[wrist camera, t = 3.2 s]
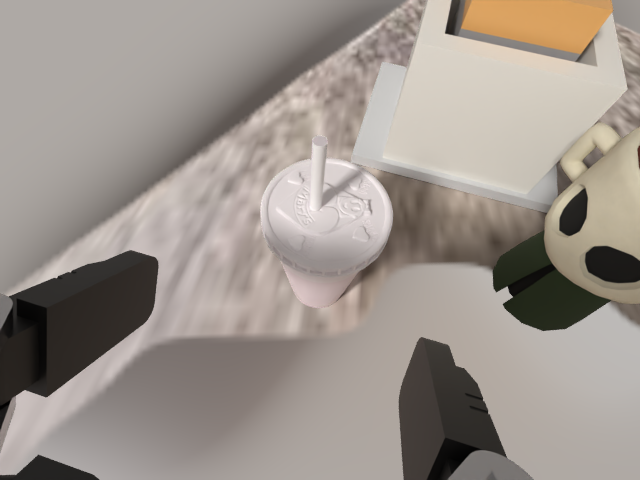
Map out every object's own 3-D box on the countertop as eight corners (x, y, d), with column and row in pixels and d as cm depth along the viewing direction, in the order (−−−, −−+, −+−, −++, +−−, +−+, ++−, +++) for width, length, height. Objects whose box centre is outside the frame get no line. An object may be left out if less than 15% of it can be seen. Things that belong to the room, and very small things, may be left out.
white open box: (547, 109, 35) (641, -14, 25) (550, 214, 29) (676, 105, 19) (380, 70, 37) (409, -59, 27) (350, 162, 30) (373, 37, 21)
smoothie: (273, 243, 26) (250, 81, 14) (358, 242, 27) (407, 82, 14) (272, 329, 23) (240, 217, 11) (367, 326, 24) (440, 214, 11)
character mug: (454, 237, 27) (564, 100, 16) (532, 218, 29) (686, 77, 17) (531, 381, 23) (768, 333, 11) (620, 350, 24) (916, 278, 12)
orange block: (532, 59, 29) (601, -51, 22) (532, 119, 25) (613, 10, 19) (444, 40, 29) (486, -72, 23) (433, 96, 26) (478, -17, 20)
